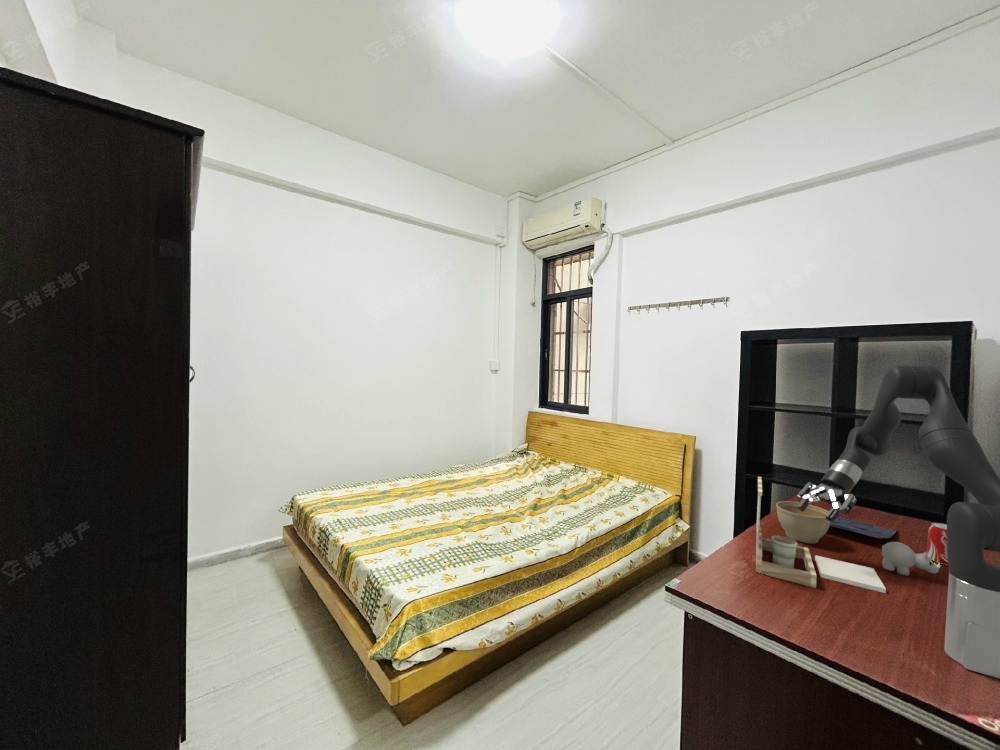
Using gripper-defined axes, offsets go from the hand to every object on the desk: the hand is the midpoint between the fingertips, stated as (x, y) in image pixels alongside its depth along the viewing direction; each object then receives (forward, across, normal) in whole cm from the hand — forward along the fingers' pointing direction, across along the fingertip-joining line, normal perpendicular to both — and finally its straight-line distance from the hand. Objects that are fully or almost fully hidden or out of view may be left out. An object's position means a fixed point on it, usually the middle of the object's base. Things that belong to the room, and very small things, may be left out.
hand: (813, 514), depth 127 cm
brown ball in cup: (+19, 0, +2) cm, 19 cm away
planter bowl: (0, -14, +22) cm, 26 cm away
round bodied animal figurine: (-5, +13, +26) cm, 30 cm away
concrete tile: (+9, +9, +12) cm, 18 cm away
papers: (-20, -17, +42) cm, 49 cm away
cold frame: (+19, 0, +2) cm, 19 cm away
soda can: (-20, +10, +42) cm, 47 cm away
